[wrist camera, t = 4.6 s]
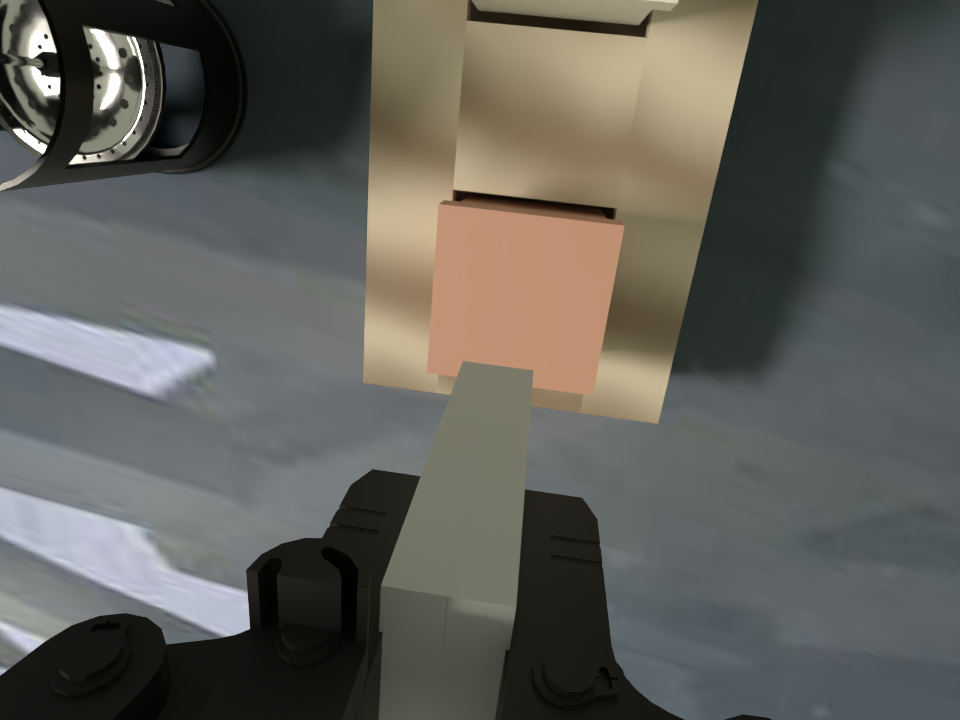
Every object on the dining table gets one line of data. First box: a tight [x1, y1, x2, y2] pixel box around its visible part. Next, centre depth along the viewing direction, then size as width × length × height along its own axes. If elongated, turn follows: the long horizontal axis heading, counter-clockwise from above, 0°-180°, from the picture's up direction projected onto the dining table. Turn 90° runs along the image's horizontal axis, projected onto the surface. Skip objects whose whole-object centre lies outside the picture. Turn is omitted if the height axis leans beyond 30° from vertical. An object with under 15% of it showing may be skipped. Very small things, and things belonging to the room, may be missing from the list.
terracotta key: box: [427, 194, 625, 396], centre depth 25 cm, size 7×7×6 cm
